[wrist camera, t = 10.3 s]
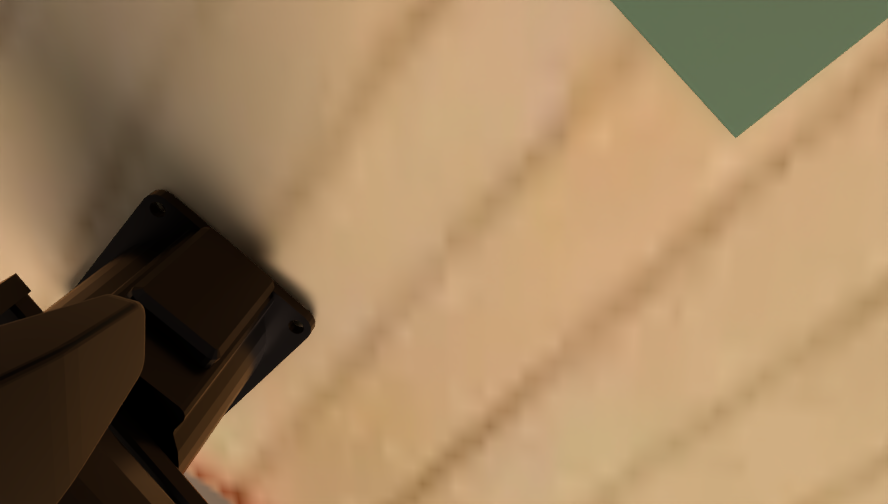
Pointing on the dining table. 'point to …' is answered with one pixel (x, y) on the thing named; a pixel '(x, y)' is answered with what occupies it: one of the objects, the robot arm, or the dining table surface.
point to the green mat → (750, 46)
